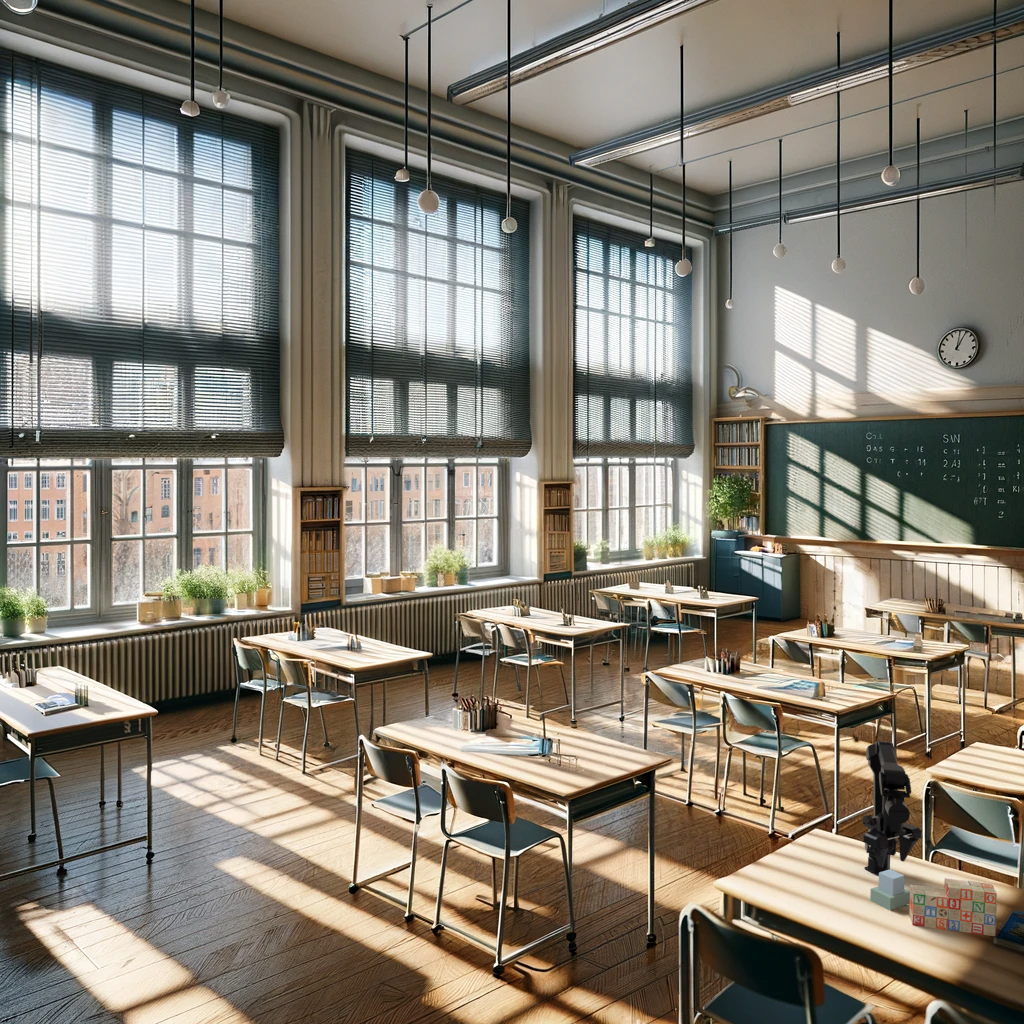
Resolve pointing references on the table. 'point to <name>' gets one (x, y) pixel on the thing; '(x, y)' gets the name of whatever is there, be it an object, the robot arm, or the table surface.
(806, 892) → the table surface
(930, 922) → the stack of blocks
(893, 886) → the cube
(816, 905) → the table surface
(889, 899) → the pale green block
